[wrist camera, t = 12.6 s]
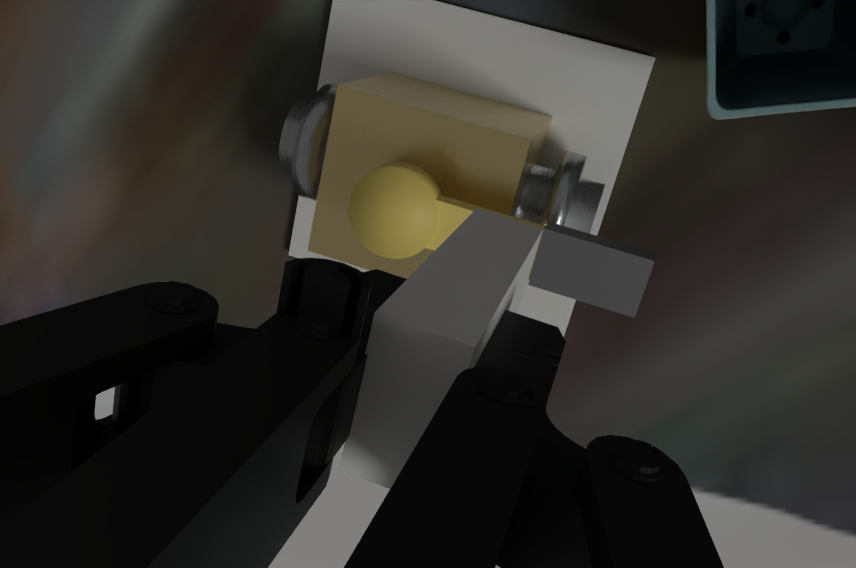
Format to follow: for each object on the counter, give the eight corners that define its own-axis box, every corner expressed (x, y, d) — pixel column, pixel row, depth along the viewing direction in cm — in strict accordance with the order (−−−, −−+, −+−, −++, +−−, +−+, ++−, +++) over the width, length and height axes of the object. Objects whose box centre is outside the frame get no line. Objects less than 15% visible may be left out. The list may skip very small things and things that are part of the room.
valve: (331, 54, 48) (249, 65, 39) (620, 135, 45) (611, 169, 36) (306, 194, 52) (225, 237, 42) (574, 277, 49) (554, 344, 39)
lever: (660, 236, 36) (660, 244, 34) (629, 322, 37) (629, 333, 36) (367, 151, 38) (357, 156, 37) (350, 236, 40) (340, 243, 38)
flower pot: (873, 84, 42) (927, 102, 34) (697, 100, 44) (706, 121, 36) (881, -98, 39) (941, -127, 31) (693, -69, 42) (702, -89, 34)
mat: (340, -25, 47) (337, -25, 47) (655, 57, 44) (655, 58, 44) (292, 252, 54) (288, 254, 54) (562, 340, 51) (561, 343, 50)
